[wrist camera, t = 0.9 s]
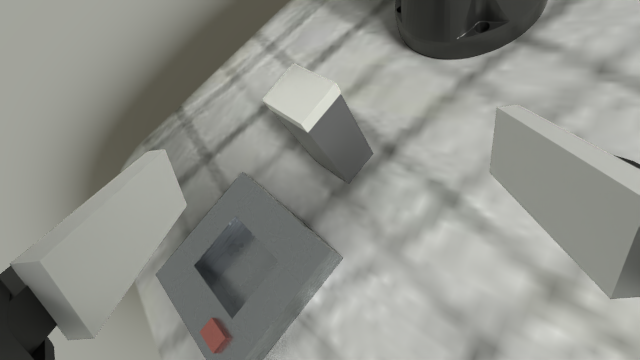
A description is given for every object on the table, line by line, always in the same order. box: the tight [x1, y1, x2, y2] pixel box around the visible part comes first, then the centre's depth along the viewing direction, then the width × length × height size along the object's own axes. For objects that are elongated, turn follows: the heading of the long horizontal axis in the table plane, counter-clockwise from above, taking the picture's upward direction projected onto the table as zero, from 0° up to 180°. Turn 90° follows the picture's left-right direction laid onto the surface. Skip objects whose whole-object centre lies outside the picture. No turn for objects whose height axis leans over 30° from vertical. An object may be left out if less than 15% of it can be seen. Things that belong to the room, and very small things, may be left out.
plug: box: [262, 63, 373, 183], centre depth 30 cm, size 4×5×11 cm
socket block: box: [156, 172, 343, 360], centre depth 32 cm, size 14×14×4 cm
